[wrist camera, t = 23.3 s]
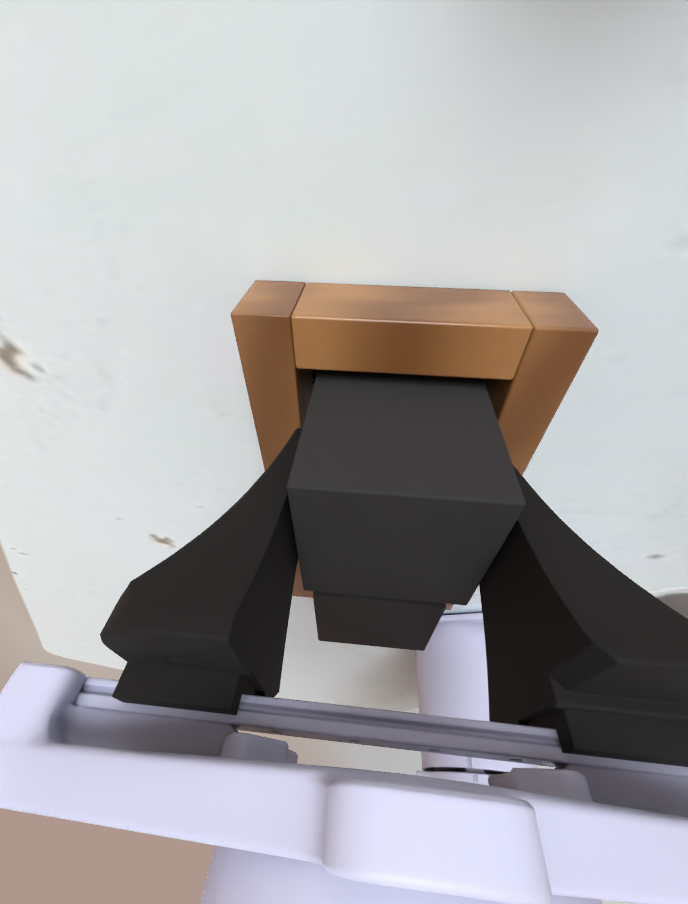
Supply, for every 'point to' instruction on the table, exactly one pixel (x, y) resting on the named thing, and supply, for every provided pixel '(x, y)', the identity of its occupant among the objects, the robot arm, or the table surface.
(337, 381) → the black block
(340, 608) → the dark grey block
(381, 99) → the table surface
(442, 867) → the robot arm
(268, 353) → the wooden frame
